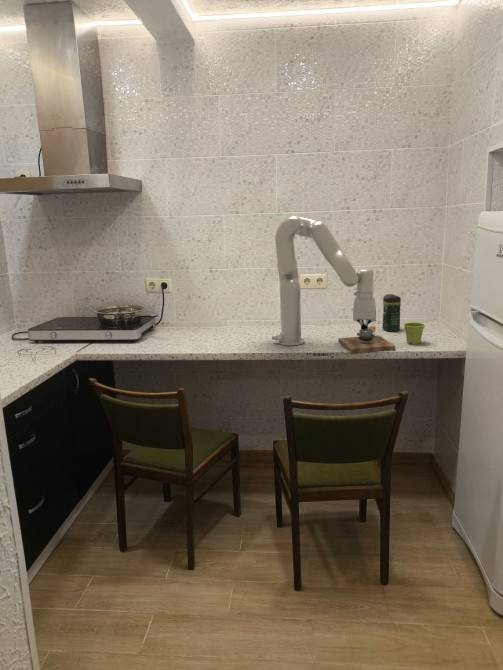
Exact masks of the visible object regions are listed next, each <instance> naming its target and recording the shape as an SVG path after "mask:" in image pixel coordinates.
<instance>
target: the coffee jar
mask: <svg viewBox="0 0 503 670" xmlns="http://www.w3.org/2000/svg"><path fill="white" fill-rule="evenodd" d="M382 304H383V308H382V309H383V311H382V329H383V330H384V331H386V332H393V333H394V332H398V331H400V330H401V304H402V301H401V297H400V296H398V295H395V294H394V293H390V294H389V293H387V294H385V295H384V296H383V299H382Z"/></svg>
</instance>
